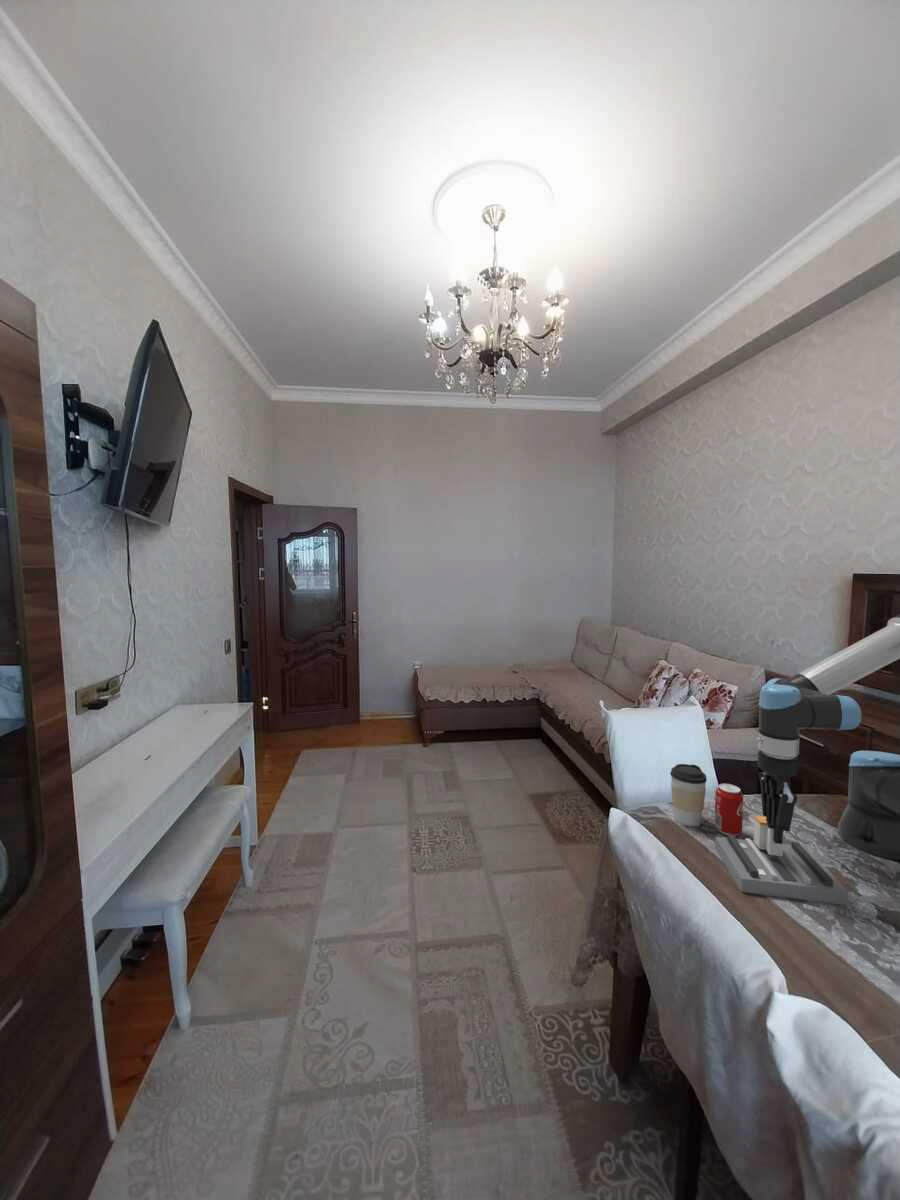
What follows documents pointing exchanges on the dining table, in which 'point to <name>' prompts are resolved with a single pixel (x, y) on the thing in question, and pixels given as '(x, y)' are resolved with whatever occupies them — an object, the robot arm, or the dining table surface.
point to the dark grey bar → (812, 864)
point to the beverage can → (728, 809)
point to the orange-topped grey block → (760, 832)
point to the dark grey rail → (743, 856)
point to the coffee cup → (688, 793)
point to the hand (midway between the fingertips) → (774, 853)
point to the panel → (779, 874)
